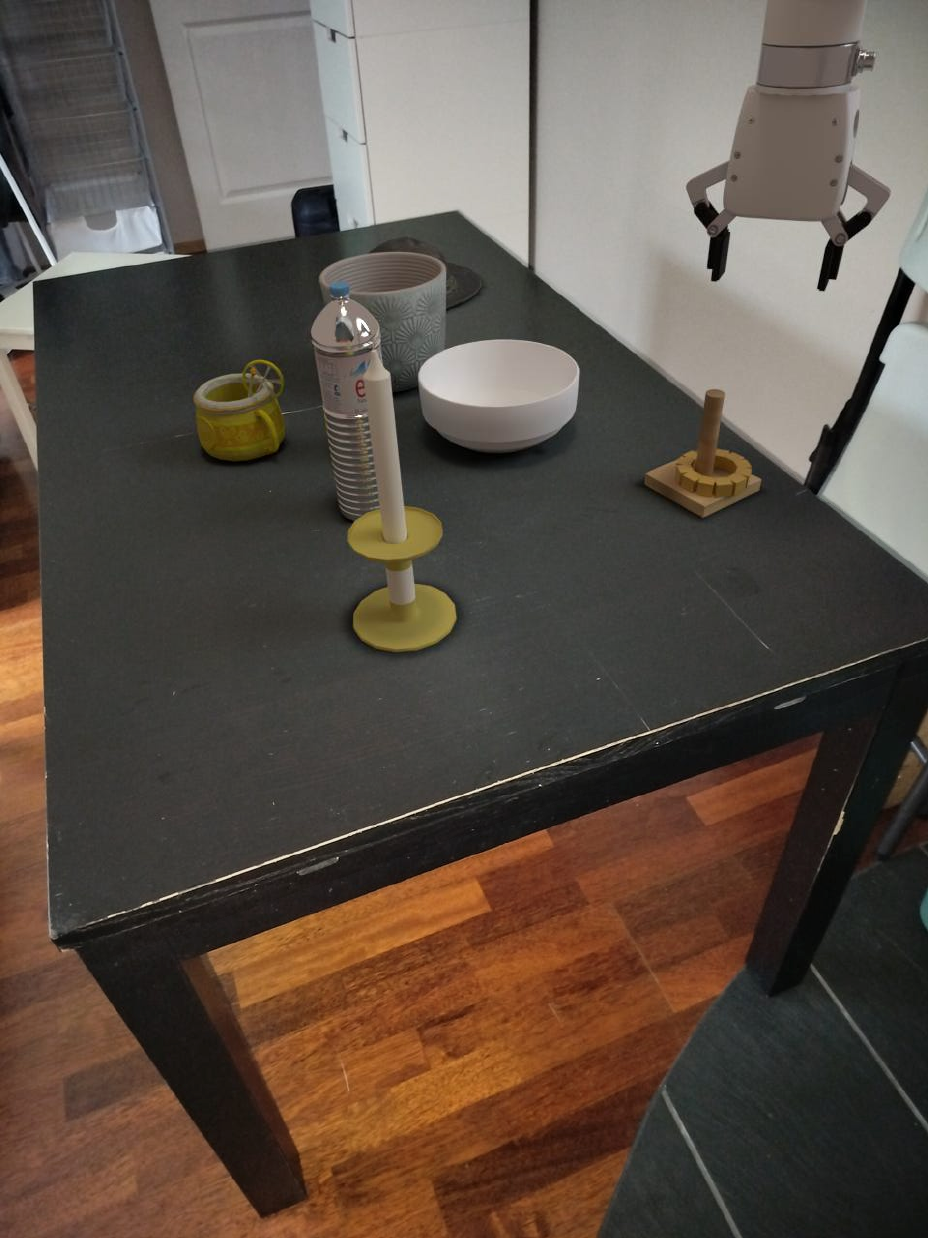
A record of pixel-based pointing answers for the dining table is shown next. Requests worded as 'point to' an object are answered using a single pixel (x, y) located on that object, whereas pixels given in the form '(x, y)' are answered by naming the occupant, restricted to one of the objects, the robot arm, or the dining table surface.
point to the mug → (240, 415)
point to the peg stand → (700, 465)
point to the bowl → (499, 394)
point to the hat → (465, 277)
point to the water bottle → (347, 396)
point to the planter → (398, 306)
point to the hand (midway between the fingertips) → (769, 281)
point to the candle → (395, 541)
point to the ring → (712, 485)
